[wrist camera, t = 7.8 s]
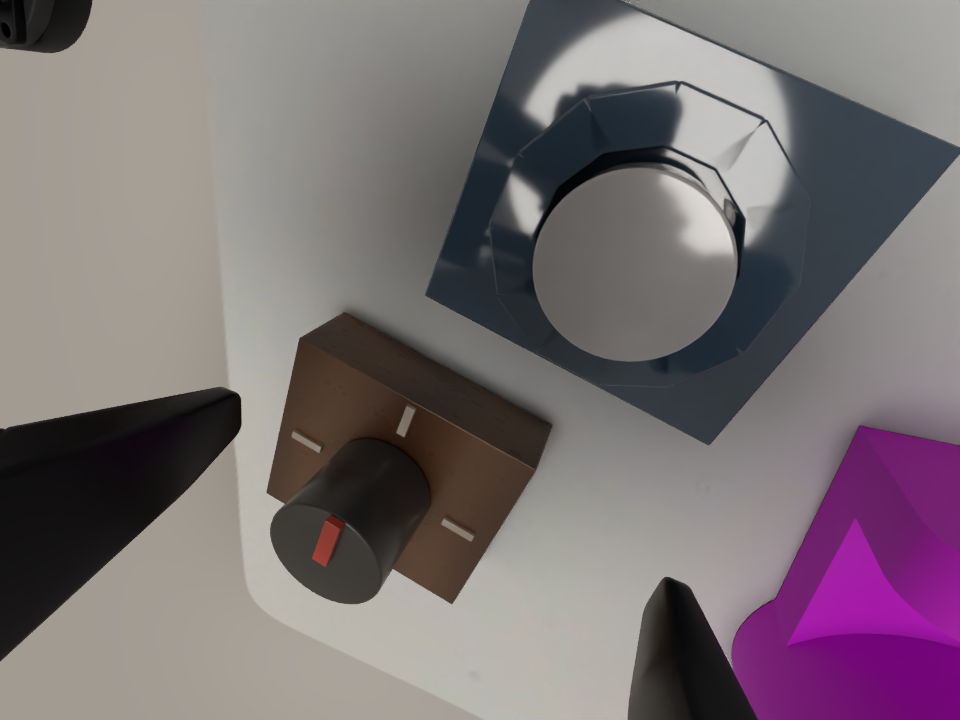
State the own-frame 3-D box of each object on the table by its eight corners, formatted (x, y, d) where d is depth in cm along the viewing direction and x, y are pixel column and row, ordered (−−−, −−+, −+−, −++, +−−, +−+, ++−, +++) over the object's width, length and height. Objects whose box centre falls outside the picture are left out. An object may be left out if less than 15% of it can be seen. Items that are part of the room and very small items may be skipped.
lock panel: (305, 456, 25) (263, 495, 23) (343, 311, 21) (296, 339, 18) (474, 554, 24) (450, 607, 22) (553, 425, 20) (535, 472, 17)
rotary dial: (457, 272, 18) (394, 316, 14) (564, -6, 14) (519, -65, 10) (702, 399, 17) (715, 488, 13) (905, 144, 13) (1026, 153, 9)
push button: (525, 285, 13) (503, 310, 11) (598, 130, 11) (586, 131, 9) (663, 356, 13) (663, 393, 11) (767, 209, 10) (787, 226, 9)
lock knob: (411, 543, 21) (357, 632, 17) (324, 490, 21) (254, 566, 18) (446, 475, 19) (392, 561, 15) (349, 418, 19) (274, 488, 15)
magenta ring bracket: (953, 789, 21) (1054, 1019, 15) (705, 701, 23) (718, 872, 18) (1236, 501, 14) (1606, 743, 8) (833, 420, 16) (917, 565, 11)
